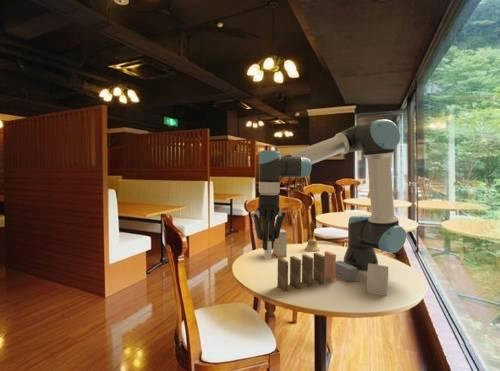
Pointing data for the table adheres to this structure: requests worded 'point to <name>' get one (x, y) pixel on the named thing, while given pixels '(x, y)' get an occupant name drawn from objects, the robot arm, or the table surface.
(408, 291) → the table surface
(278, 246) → the supplement box
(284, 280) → the walnut tile
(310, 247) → the hand bell
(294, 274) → the walnut tile
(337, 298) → the table surface
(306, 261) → the walnut tile
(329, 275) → the terracotta tile
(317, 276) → the walnut tile
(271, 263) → the table surface
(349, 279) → the block
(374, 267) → the beige boxy piece
